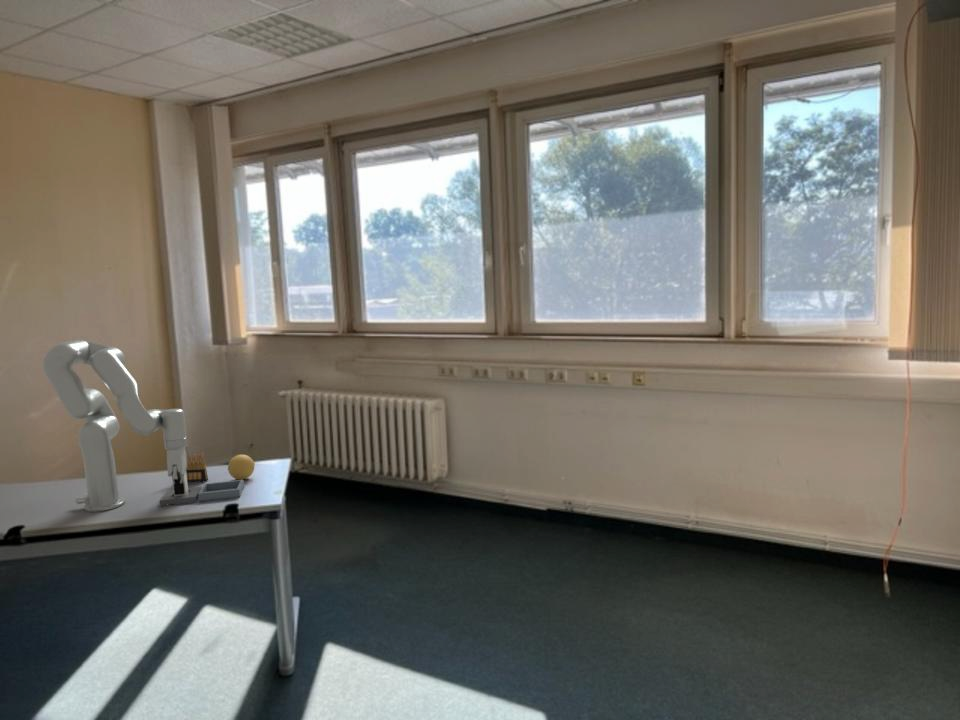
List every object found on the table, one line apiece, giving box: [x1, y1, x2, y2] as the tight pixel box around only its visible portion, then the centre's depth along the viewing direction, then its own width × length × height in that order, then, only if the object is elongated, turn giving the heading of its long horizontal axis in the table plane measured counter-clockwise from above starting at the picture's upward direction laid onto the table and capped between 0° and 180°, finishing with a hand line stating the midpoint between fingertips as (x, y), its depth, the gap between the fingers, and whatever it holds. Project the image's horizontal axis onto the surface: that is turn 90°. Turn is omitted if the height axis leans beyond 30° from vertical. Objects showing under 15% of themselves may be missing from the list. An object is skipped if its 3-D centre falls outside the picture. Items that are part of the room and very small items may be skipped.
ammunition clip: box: [186, 451, 209, 483], centre depth 258 cm, size 11×2×12 cm, turn 91°
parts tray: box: [198, 479, 245, 503], centre depth 241 cm, size 14×12×3 cm
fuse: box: [171, 471, 189, 496], centre depth 238 cm, size 4×4×10 cm
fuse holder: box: [158, 486, 203, 506], centre depth 238 cm, size 12×12×2 cm
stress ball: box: [227, 454, 255, 480], centre depth 258 cm, size 10×10×10 cm
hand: (181, 491), depth 238 cm, fingers closed on fuse, 3 cm apart
